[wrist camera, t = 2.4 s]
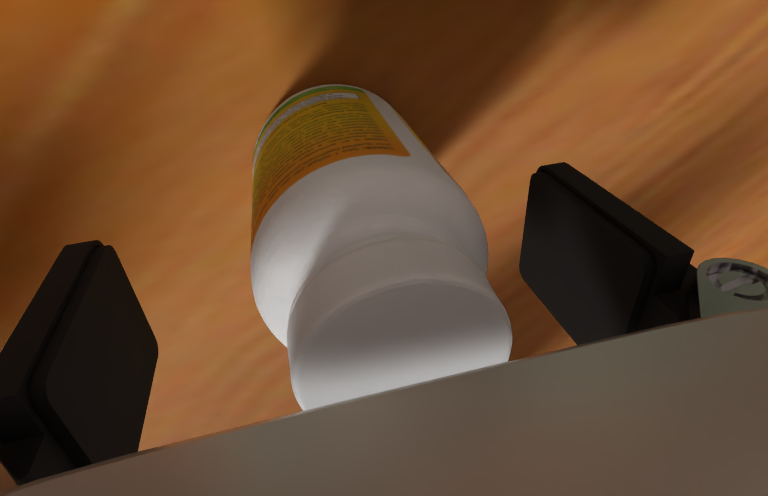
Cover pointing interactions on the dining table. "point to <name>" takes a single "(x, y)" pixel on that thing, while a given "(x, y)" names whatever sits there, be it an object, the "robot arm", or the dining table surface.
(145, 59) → the dining table surface
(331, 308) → the supplement bottle
